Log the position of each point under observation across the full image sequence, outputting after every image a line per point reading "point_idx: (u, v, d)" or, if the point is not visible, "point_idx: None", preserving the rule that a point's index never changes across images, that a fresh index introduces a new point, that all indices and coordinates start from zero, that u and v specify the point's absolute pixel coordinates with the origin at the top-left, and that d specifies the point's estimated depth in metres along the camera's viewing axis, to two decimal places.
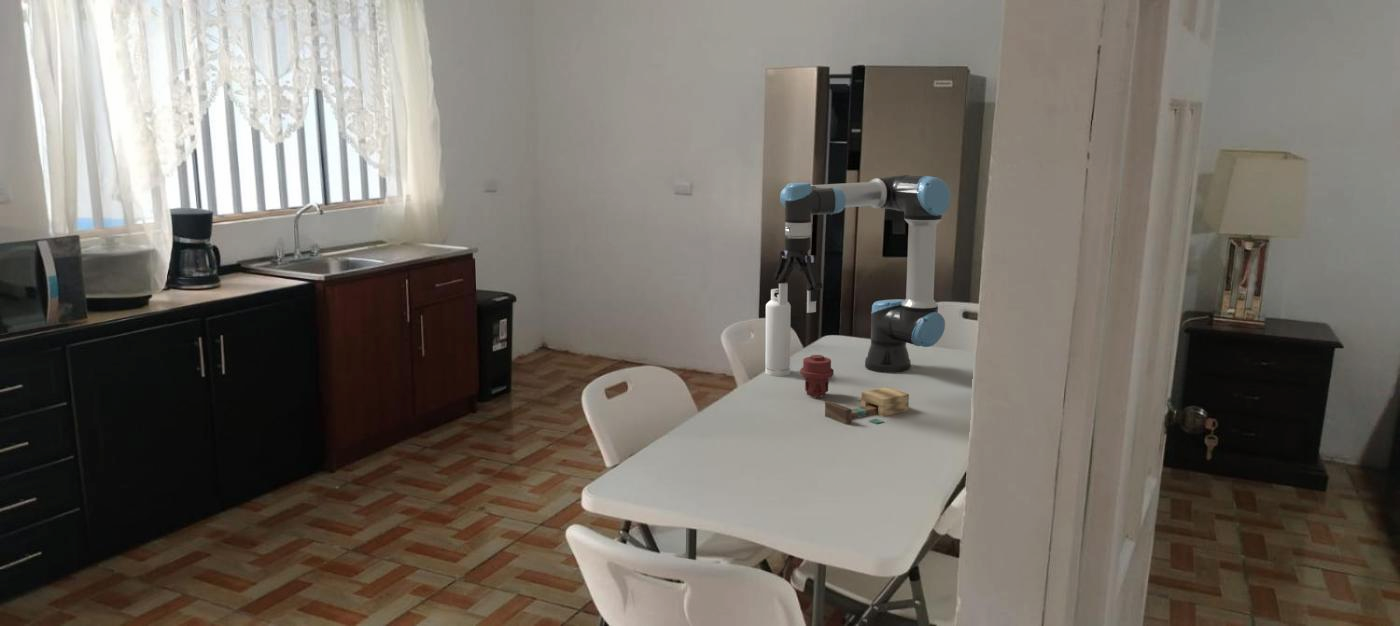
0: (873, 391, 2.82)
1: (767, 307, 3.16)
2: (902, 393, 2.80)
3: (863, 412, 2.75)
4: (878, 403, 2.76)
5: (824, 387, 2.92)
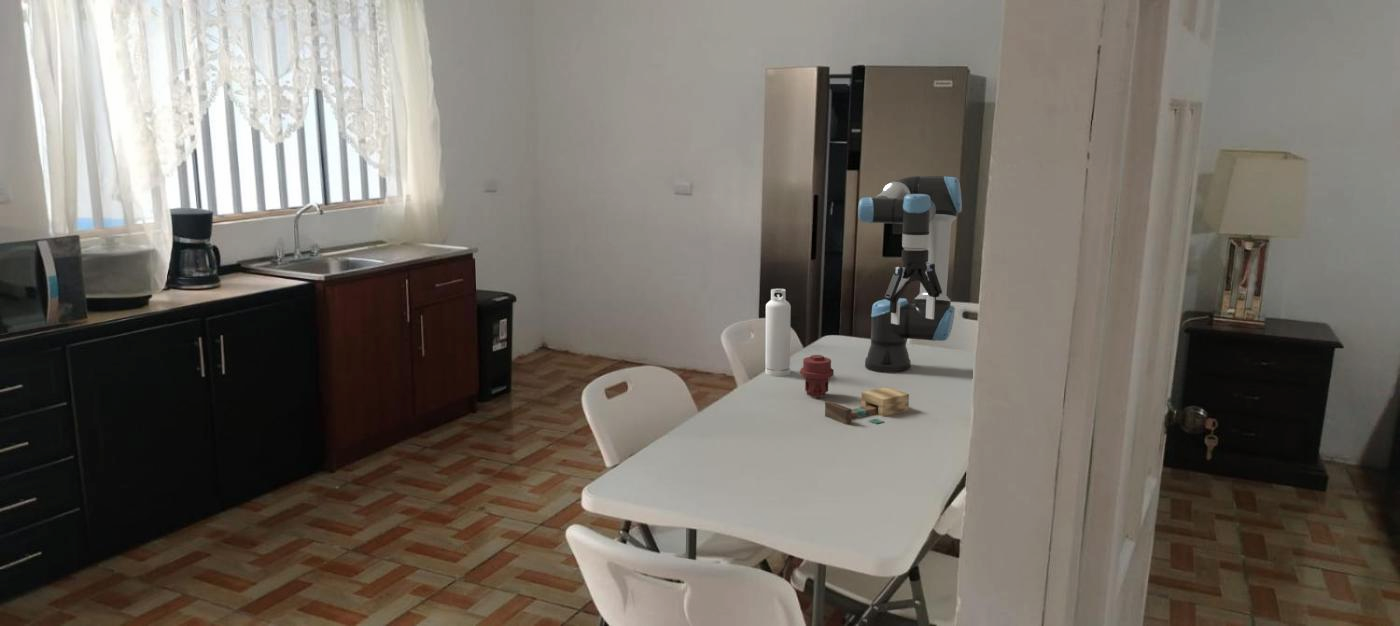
0: (873, 391, 2.82)
1: (767, 307, 3.16)
2: (902, 393, 2.80)
3: (863, 412, 2.75)
4: (878, 403, 2.76)
5: (824, 387, 2.92)
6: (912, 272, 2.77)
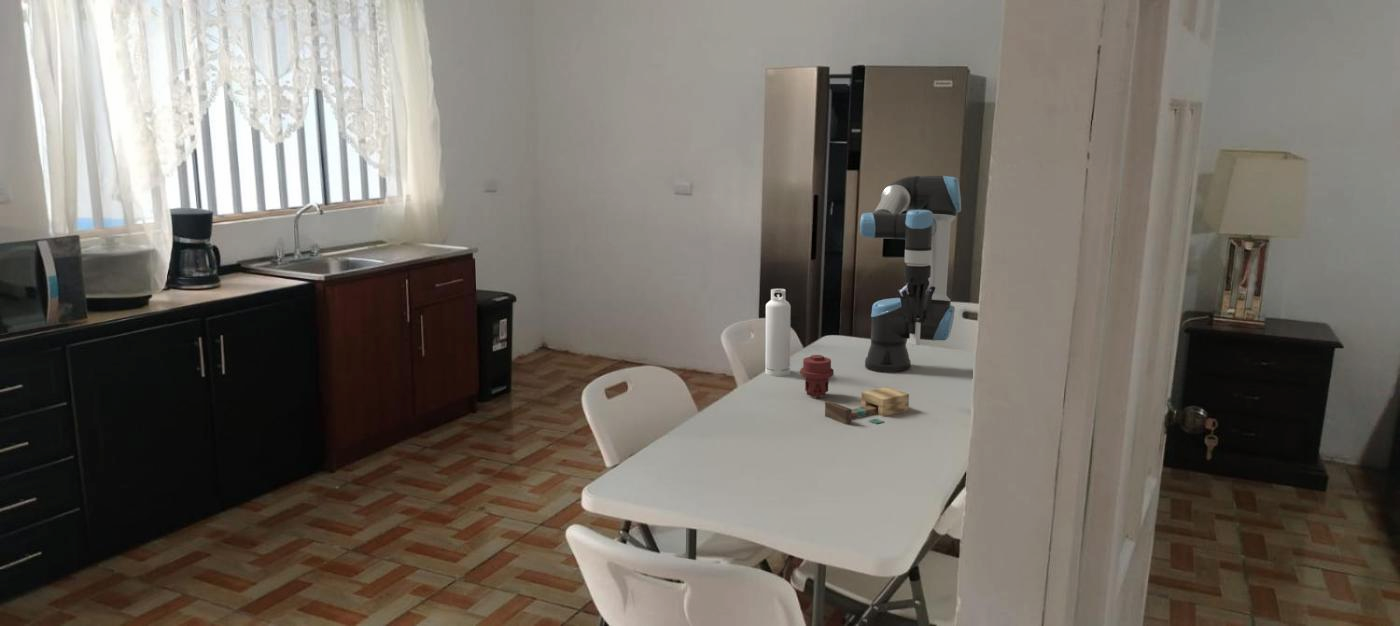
0: (873, 391, 2.82)
1: (767, 307, 3.16)
2: (902, 393, 2.80)
3: (863, 412, 2.75)
4: (878, 403, 2.76)
5: (824, 387, 2.92)
6: (915, 289, 2.78)
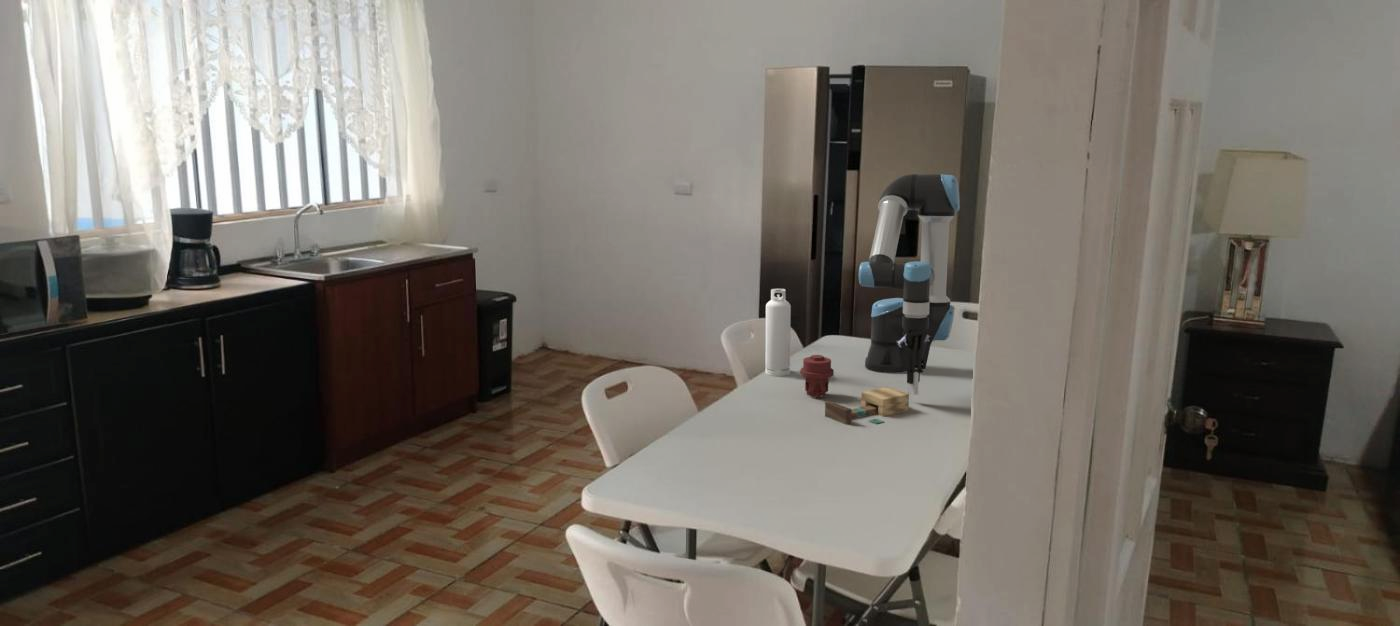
0: (873, 391, 2.82)
1: (767, 307, 3.16)
2: (902, 393, 2.80)
3: (863, 412, 2.75)
4: (878, 403, 2.76)
5: (824, 387, 2.92)
6: (913, 340, 2.81)
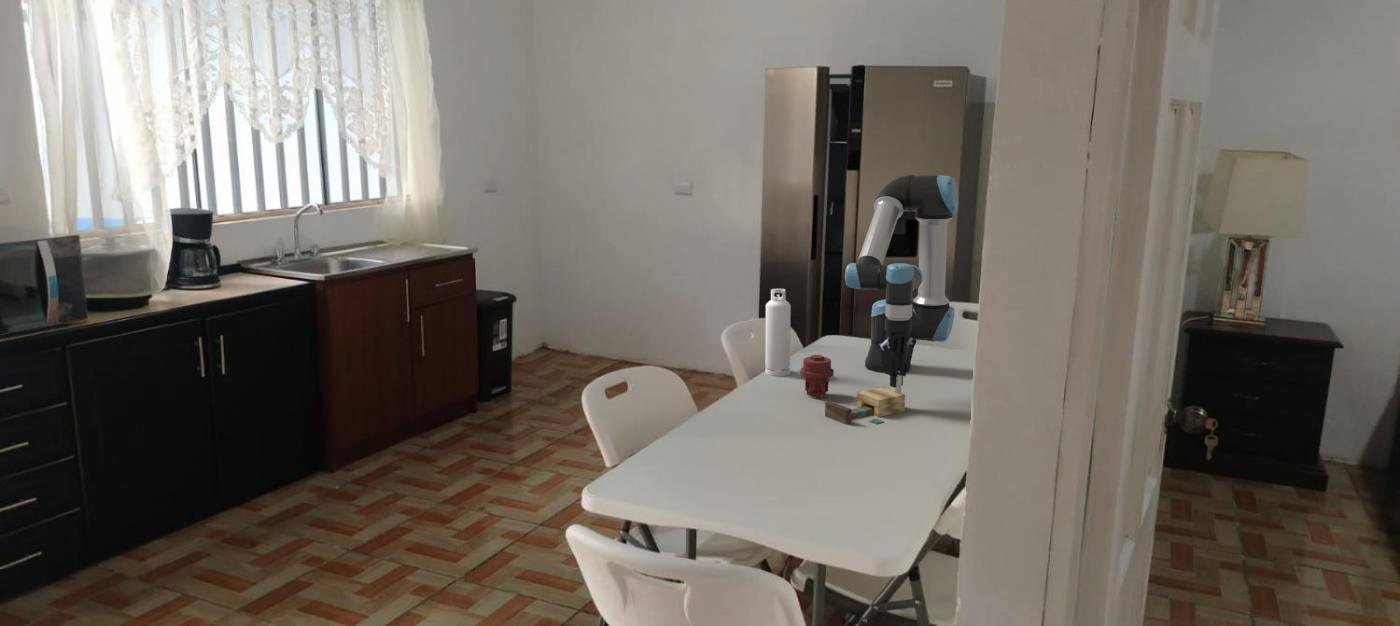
0: (869, 391, 2.82)
1: (767, 307, 3.16)
2: (898, 393, 2.79)
3: (863, 412, 2.75)
4: (874, 403, 2.75)
5: (824, 387, 2.92)
6: (896, 343, 2.77)
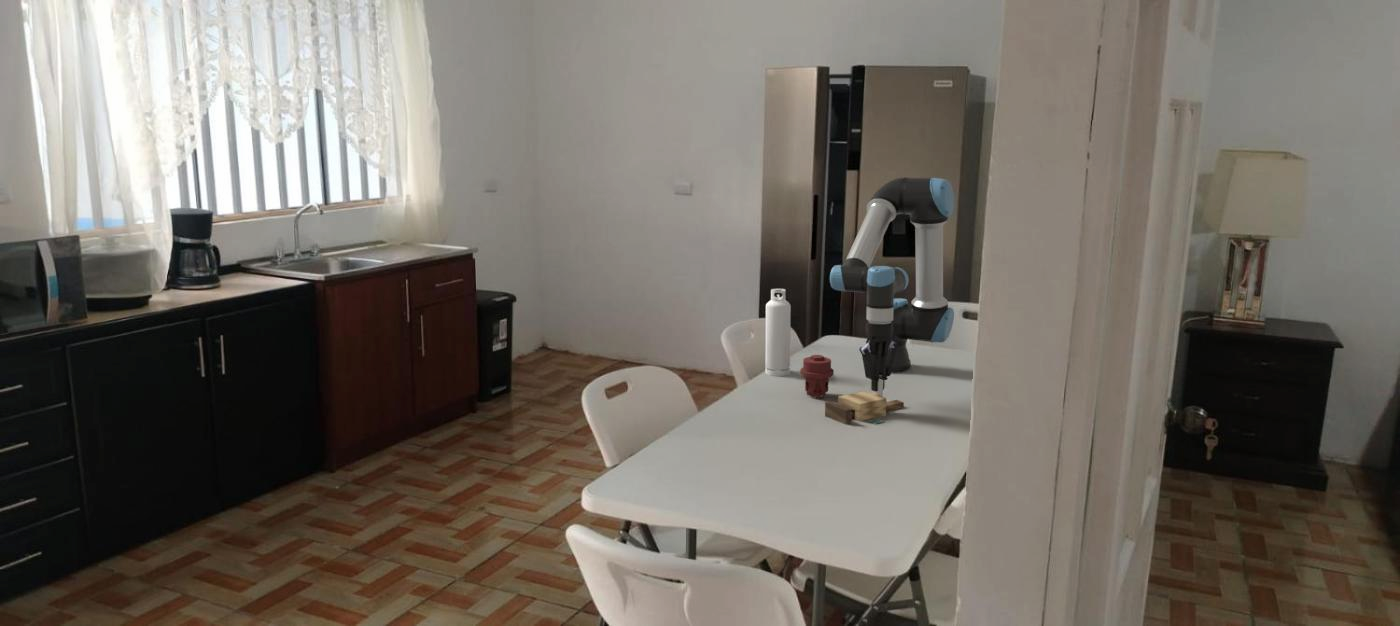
0: (850, 395, 2.78)
1: (767, 307, 3.16)
2: (879, 397, 2.76)
3: None
4: (855, 408, 2.71)
5: (824, 387, 2.92)
6: (877, 347, 2.74)
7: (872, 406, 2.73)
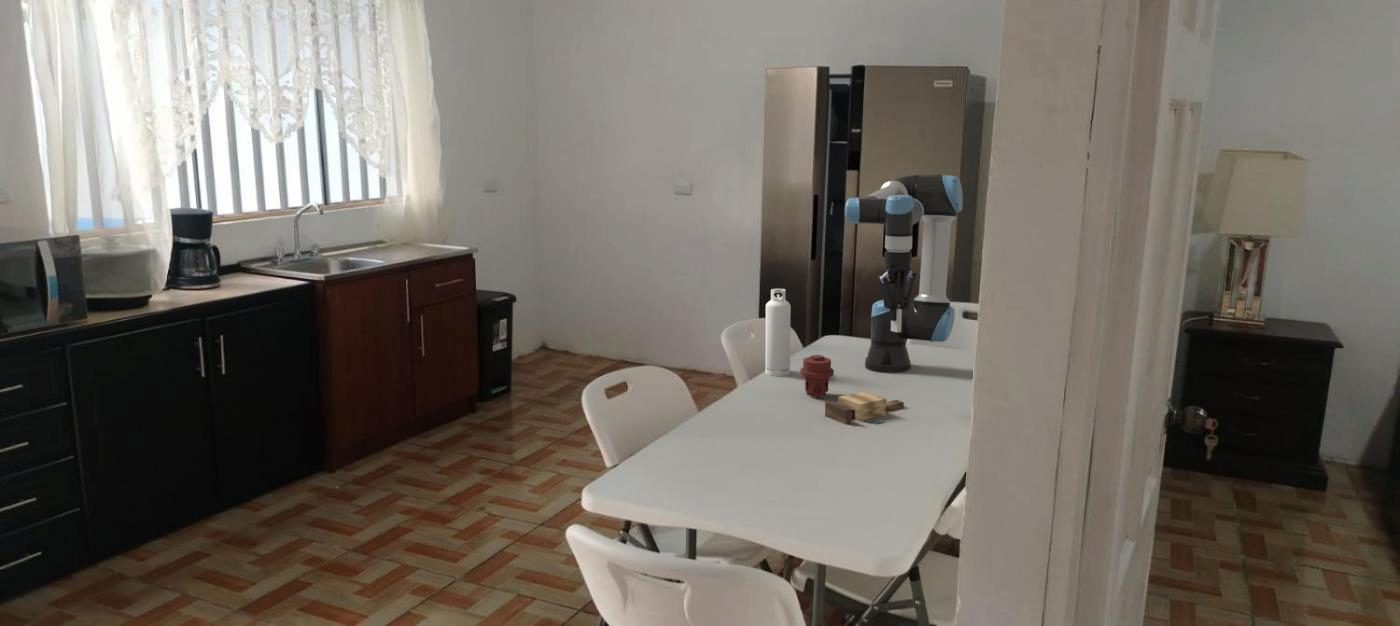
0: (850, 395, 2.78)
1: (767, 307, 3.16)
2: (879, 398, 2.76)
3: None
4: (855, 408, 2.71)
5: (824, 387, 2.92)
6: (896, 276, 2.74)
7: (872, 406, 2.73)
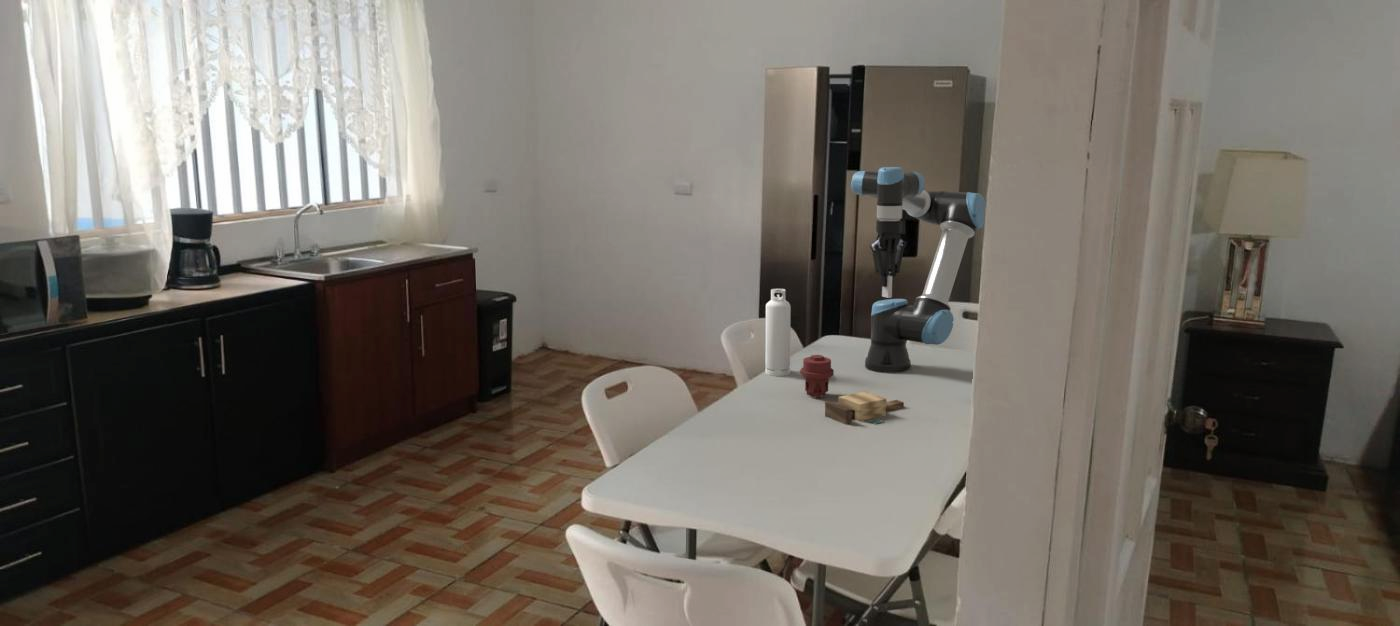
0: (850, 395, 2.78)
1: (767, 307, 3.16)
2: (879, 398, 2.76)
3: None
4: (855, 408, 2.71)
5: (824, 387, 2.92)
6: (887, 244, 2.90)
7: (872, 406, 2.73)
